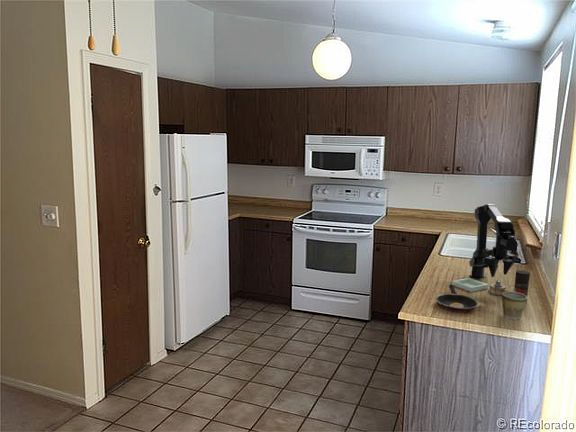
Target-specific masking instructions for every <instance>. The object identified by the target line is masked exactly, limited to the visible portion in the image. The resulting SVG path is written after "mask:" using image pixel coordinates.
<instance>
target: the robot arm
mask: <svg viewBox="0 0 576 432" xmlns="http://www.w3.org/2000/svg"><path fill="white" fill-rule="evenodd" d="M474 217H475V218H474V219H475V220H476V222H477V235H476V249H475V250H474V252H473V253H472V257H471V258H470V260H469V262H468V263H469V264H468V265H469V266H470V267H471V272H470V273H471V275H468V276H469V277H468V278H471V279H474V280H481V279H486V278H487V277H486V276H485V269H486V268H487V269H489V272H490V276H491V277H492V278H495V275H496V273H497V270H498V268H499V262H502V263H503V275H505V276H506V275H507V274H508V273H509V271H510V270H511V268H512V267H513V265H514V264H516V262H518V256H517V255H515V254H513V253H508V251H511V252H513V251H515V250H517V248H518V245H519V243H518V241H517V240H516V239H515V236H516V231H515V227H514V225H513V222H512V221H511V220H510V219H509V218H507V217H504V216H503V215H502V213H501V212H500V210H498V208H497V206H496V204H493V203H492V204H491V203H487V204H484V205H482V206H481V205H480V206H477V207H476V208H475V209H474ZM491 220H492V222H493V223H494V226H493V227H494V229H495V230H494V231H495V233H494V234H495V235H496V237H495V246H493V247H492V249H489V248H487V240H488V239H487V237H488V235H487V234H488V224H489V222H490V221H491Z"/></svg>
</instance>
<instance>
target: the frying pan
mask: <svg viewBox="0 0 576 432" xmlns="http://www.w3.org/2000/svg"><path fill="white" fill-rule="evenodd" d="M448 288H449V290H450V293H442V294H438V295H437V296H435V300H436V302H437V303H438V305H439V306H440V307H441V308H443V309H444V310H447V311H450V312H455V313H469V312H471V311H473V310H474V309H476V308H477V307H478V306H479V303H480V302H478V300H476V299H475V298H473V297H470V296H468V295H463V294H460V293H459V294H458V293H457V292H456V289H455V286H453V285H452V283H451V284H449V285H448Z"/></svg>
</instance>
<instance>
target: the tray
mask: <svg viewBox="0 0 576 432" xmlns="http://www.w3.org/2000/svg"><path fill="white" fill-rule="evenodd" d="M451 285H453V286H454V287H457V288H458V289H462V290H464V291H467V292H469V293H474V292H477V291H478V292H479V291H482V290H487V289H488V290H489V284H488V283H486V282H482V281H480V280H478V279H475V278H472V277H466V278H461V279H456V280H452V282H451Z"/></svg>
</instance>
